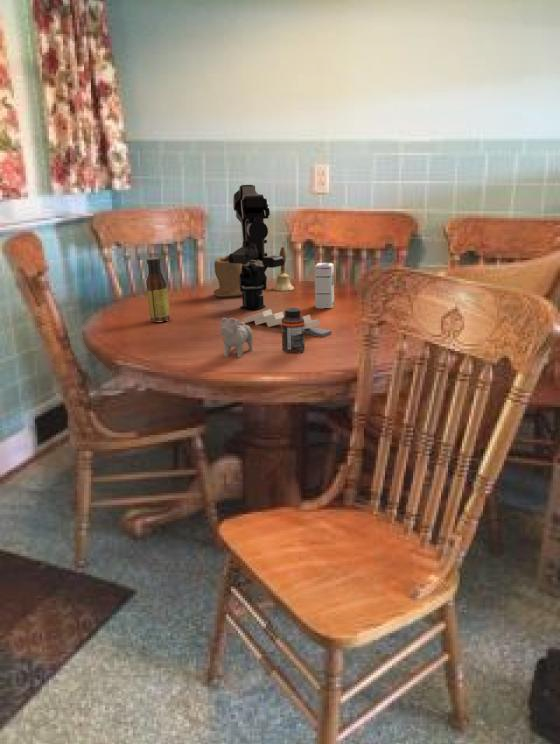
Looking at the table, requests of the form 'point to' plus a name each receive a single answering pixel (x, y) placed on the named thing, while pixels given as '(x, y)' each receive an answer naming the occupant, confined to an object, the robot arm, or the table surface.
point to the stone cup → (227, 277)
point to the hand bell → (283, 276)
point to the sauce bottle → (157, 292)
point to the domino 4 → (307, 318)
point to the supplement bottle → (293, 331)
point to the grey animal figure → (235, 335)
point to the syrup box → (324, 285)
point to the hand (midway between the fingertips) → (256, 287)
